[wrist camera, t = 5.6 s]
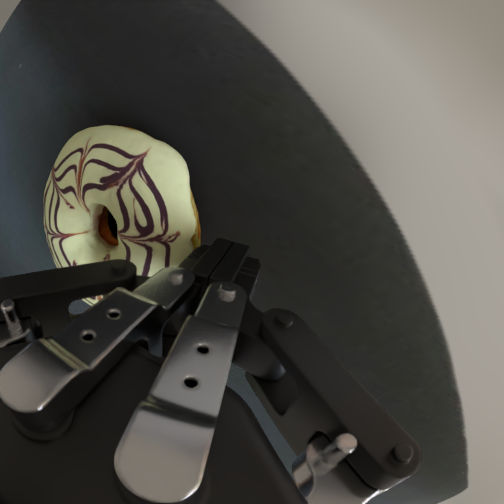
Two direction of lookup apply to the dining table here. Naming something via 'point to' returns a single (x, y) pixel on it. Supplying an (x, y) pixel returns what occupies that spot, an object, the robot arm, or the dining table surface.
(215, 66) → the dining table surface
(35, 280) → the robot arm
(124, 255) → the decorated donut
